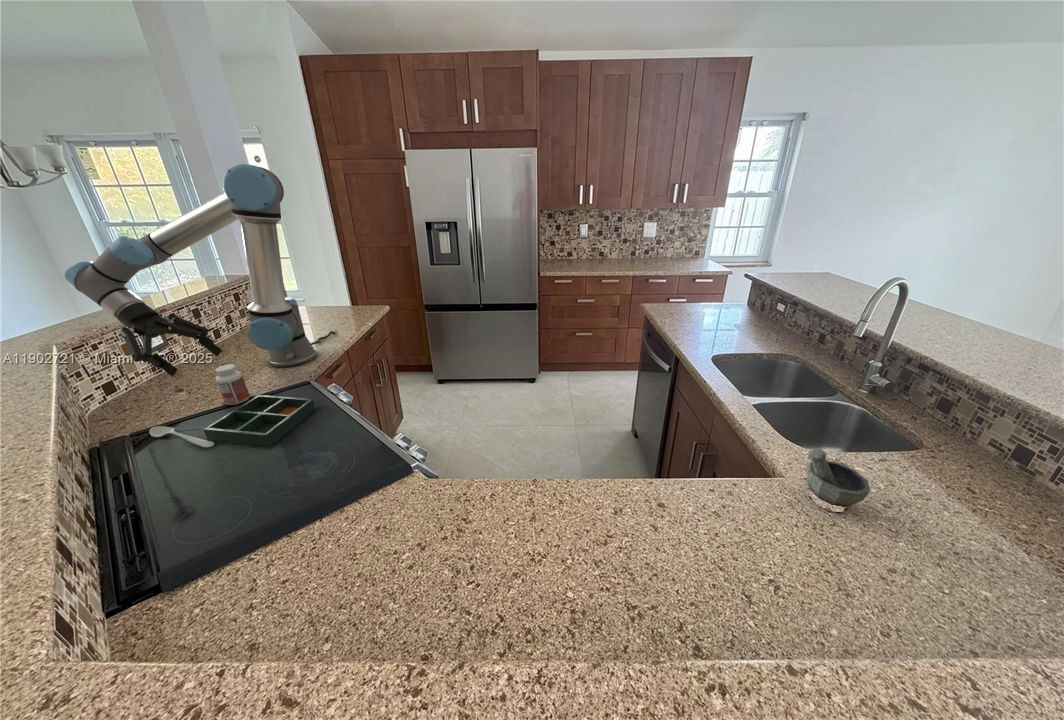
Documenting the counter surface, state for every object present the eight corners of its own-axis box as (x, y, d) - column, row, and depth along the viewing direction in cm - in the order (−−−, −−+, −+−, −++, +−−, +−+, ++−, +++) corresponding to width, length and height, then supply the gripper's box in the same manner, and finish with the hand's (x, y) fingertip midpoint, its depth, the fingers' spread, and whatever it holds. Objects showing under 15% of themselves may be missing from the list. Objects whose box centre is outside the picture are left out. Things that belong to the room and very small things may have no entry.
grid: (262, 404, 109) (258, 394, 108) (316, 409, 107) (313, 399, 106) (207, 440, 94) (202, 429, 92) (269, 446, 92) (265, 435, 90)
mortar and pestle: (843, 489, 79) (864, 444, 74) (867, 524, 71) (892, 476, 66) (784, 480, 82) (801, 436, 77) (801, 512, 74) (821, 465, 69)
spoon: (163, 427, 99) (161, 422, 98) (221, 441, 94) (219, 435, 93) (145, 436, 95) (142, 431, 94) (204, 451, 90) (201, 445, 89)
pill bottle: (249, 393, 116) (237, 361, 111) (251, 401, 111) (239, 368, 107) (224, 399, 112) (211, 366, 107) (225, 408, 108) (211, 374, 103)
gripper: (172, 306, 116) (230, 353, 120) (71, 334, 93) (148, 390, 98) (180, 290, 113) (239, 339, 117) (78, 315, 90) (157, 374, 95)
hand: (198, 362), depth 108 cm, fingers open, 13 cm apart
